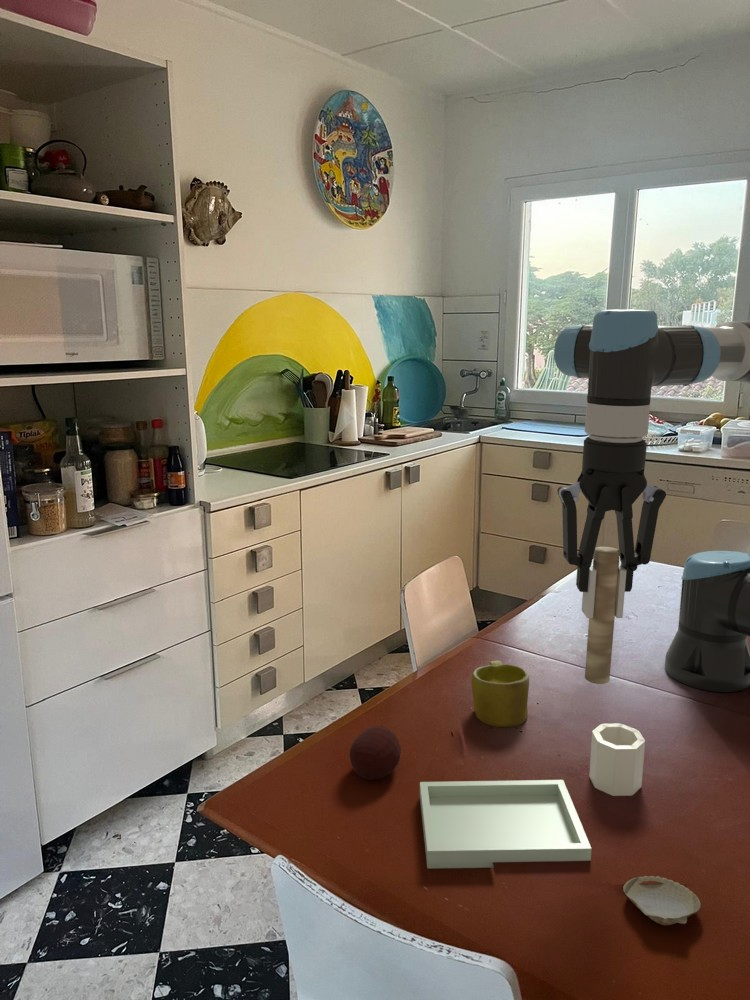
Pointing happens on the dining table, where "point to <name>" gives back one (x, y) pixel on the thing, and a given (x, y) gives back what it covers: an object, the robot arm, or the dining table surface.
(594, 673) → the dowel
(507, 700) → the mug
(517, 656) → the dining table surface
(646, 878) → the seashell
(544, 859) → the tray
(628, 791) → the crock
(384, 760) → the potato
